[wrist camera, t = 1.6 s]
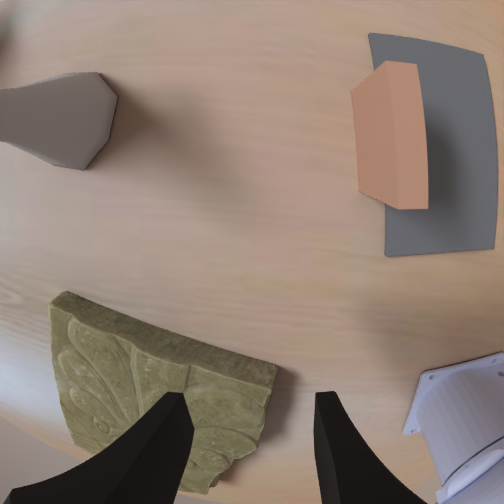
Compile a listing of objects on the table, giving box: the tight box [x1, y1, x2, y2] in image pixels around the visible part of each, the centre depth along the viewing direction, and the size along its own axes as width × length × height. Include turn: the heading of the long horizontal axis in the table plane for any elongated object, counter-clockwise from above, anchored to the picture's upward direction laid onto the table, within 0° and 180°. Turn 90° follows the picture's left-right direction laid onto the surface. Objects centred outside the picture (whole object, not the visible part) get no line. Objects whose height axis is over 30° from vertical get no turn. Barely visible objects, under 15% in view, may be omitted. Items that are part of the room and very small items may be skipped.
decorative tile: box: [48, 291, 278, 495], centre depth 23 cm, size 19×20×4 cm
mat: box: [368, 33, 498, 257], centre depth 15 cm, size 9×14×1 cm, turn 5°
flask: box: [0, 72, 118, 170], centre depth 12 cm, size 7×7×10 cm
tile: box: [351, 61, 428, 209], centre depth 13 cm, size 2×6×6 cm, turn 5°
